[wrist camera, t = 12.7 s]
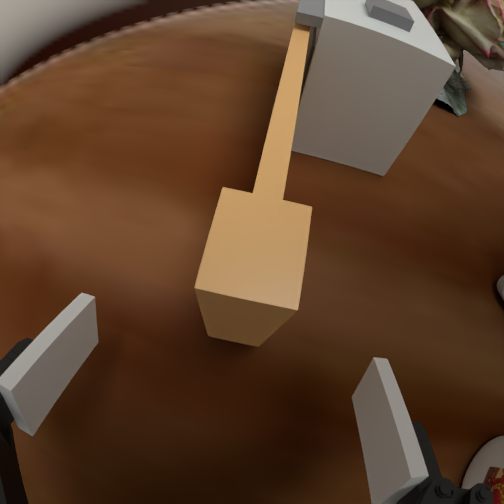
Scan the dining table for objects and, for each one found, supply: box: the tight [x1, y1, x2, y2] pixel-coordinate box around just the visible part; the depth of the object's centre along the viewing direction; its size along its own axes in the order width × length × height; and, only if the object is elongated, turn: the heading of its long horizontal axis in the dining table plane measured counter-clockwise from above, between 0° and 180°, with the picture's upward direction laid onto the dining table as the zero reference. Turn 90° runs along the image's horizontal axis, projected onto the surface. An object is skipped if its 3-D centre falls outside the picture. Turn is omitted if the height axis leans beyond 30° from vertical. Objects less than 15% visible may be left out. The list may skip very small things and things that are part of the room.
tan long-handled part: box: [194, 23, 312, 347], centre depth 17 cm, size 18×3×10 cm, turn 169°
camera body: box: [291, 0, 456, 176], centre depth 23 cm, size 15×11×14 cm
